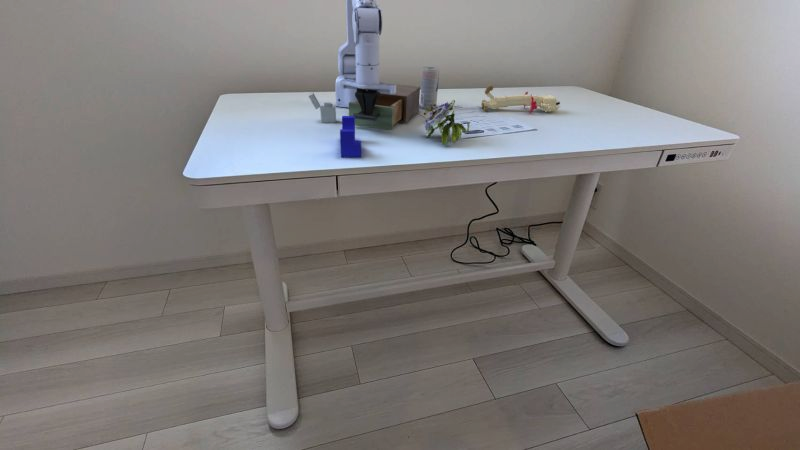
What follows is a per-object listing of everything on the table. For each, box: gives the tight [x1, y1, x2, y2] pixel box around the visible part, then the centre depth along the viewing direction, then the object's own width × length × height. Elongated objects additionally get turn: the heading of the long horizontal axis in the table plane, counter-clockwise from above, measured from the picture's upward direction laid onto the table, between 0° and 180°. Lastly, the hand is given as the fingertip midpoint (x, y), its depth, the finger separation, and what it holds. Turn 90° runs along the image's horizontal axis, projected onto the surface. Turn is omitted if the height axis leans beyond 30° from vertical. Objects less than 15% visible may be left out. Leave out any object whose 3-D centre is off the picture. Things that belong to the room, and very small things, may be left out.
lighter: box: [307, 91, 337, 124], centre depth 109 cm, size 7×2×8 cm, turn 98°
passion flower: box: [423, 99, 471, 147], centre depth 100 cm, size 11×11×12 cm
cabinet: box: [379, 82, 421, 124], centre depth 117 cm, size 14×14×8 cm
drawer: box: [348, 96, 404, 131], centre depth 107 cm, size 17×12×6 cm
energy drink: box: [419, 66, 440, 110], centre depth 126 cm, size 5×5×12 cm
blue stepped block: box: [339, 115, 362, 158], centre depth 92 cm, size 12×4×6 cm, turn 5°
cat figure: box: [481, 84, 561, 114], centre depth 127 cm, size 10×9×25 cm
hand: (367, 119), depth 102 cm, fingers closed, pressing on drawer
